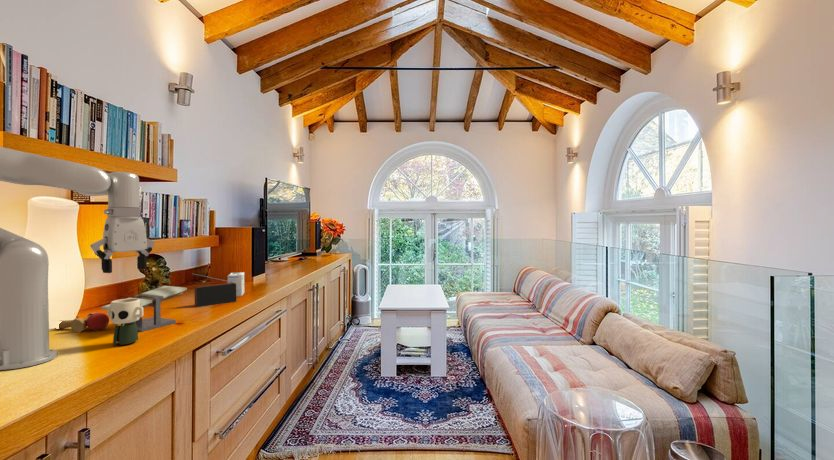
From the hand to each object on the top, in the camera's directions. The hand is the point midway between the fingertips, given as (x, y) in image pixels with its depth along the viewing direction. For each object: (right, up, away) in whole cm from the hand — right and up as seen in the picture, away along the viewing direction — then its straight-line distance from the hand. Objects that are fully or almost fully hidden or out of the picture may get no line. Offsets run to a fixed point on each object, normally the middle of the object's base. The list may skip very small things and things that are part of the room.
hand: (125, 270), depth 117 cm
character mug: (0, -22, 0) cm, 22 cm away
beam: (-7, -14, +21) cm, 26 cm away
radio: (-3, -21, +57) cm, 60 cm away
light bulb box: (-3, -21, +79) cm, 82 cm away
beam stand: (-7, -22, +21) cm, 31 cm away
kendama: (-27, -22, +16) cm, 38 cm away
